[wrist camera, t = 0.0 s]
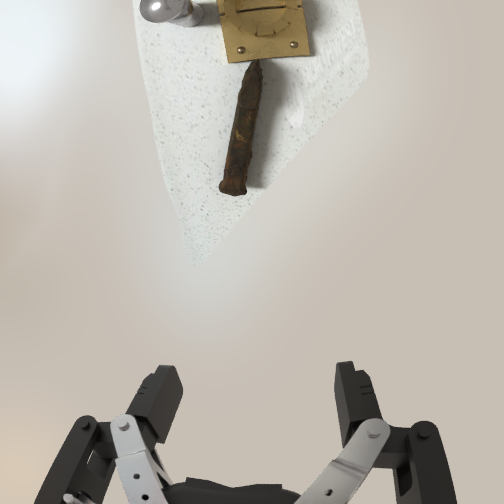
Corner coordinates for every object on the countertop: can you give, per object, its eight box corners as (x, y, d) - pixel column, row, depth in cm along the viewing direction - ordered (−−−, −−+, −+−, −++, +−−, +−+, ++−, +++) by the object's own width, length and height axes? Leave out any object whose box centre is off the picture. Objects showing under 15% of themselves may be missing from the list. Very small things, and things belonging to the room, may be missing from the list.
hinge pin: (166, 20, 24) (131, 11, 16) (188, -4, 22) (159, -22, 14) (191, 35, 26) (163, 29, 18) (214, 11, 24) (193, -5, 16)
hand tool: (246, 187, 41) (244, 202, 37) (220, 181, 40) (215, 197, 37) (279, 64, 29) (281, 65, 25) (248, 57, 28) (246, 57, 25)
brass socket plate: (212, -27, 20) (206, -35, 17) (293, -36, 18) (296, -45, 15) (229, 63, 28) (225, 63, 26) (308, 55, 27) (313, 55, 24)
